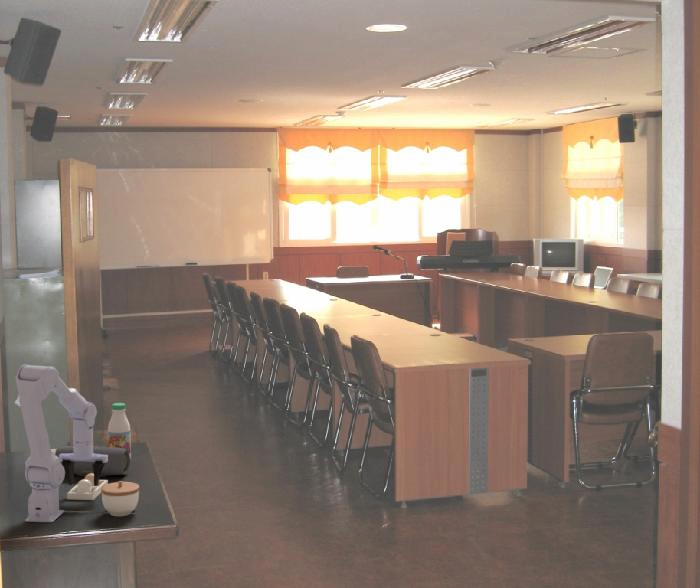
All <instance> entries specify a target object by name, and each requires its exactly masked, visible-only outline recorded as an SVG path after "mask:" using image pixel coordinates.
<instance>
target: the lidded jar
mask: <svg viewBox="0 0 700 588" xmlns="http://www.w3.org/2000/svg"><path fill="white" fill-rule="evenodd" d="M139 496H140V485H139V484H138V483H135V482H130V481H122V480H119V481H115V482H110V483H109V482H108V484H106V485H104V486H103V487H102V488H101V500H102V504H103V505H102V506H103V507H104V509H105V510H106V511H107V512H108V513H109V515H110V516H112V517H113V516H114V517H126V516H129V515H132V512H133V511H134V510H135V509H136V507H137V505H138V503H139Z"/></svg>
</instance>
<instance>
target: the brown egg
mask: <svg viewBox="0 0 700 588" xmlns="http://www.w3.org/2000/svg"><path fill="white" fill-rule="evenodd" d="M84 479H87V480H89V481H90V482H91V485H92V486H94V474H93V473H90V474H88V475H86V476H84ZM97 486H98V485H97Z"/></svg>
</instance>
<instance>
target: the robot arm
mask: <svg viewBox="0 0 700 588" xmlns="http://www.w3.org/2000/svg"><path fill="white" fill-rule="evenodd" d="M59 372H60V371H58V369H56V367H54V366H44V365H32V364H31V365H30V364H28V363H27V364H25V363H24V364H22V365H21V366H20V367H19V368H18V370H17V374H16V375H15V377H14V380H15V383H16V388H17V393H18V396H19V397H18V398H19V401H18V402H19V406H20V410H21V414H22V415H21V416H22V419H23V424H24V429H25V433H26V438H27V440H28V441H27V442H28V446H29V451H30V456H28V458H27V459H26V460H25V462H24V465H25V471H24V472H25V473H24V476H25V479H26V481H27V483H29V487H31V494H30V495H29V496H28V499H27V511H28V512H27V515H28V516H27V518H26V519H24V520H25V521H24V522H31V523H32V522H34V523H53V522H55V520H56V519H58V518H59V517H60V516H62V514H64V513H65V510H64V509H60V497H59V496H60V492H59V486H61V485H62V483H63V482H64V479H65V476H66V478H67V482H68V485H69V486H72V485H74V483H75V474H74V463H75V461H86V462H95V463H94V464H93V465H92V466H93V472H94V486H97V485H98V484H99V480H100V477H101V476H100V474H101V472H102V469H103V467H104V465H105V463H106V462H107V461H108V455H102V454H95V453H93V446H94V426H95V423H96V422H95V421H96V420H95V419H96V417H97V413H98V410H97V408H96V405H95V404H94V403H93V402H91V401H90V402H89V401H87V400H86V399H85V397H84V396H82V395H81V394H80V393H79V392H78V390H79V389H77V388H74V387H68V386H67V384H65V381H63V380H62V379H61V377H60V373H59ZM51 392H52V393H54V394H55V395H57V397H58V401H59V404H61V405H62V406H63V407H64V408H65V410H67V412H68V413H67V414H68V418H69V419H71V420H72V424H73V425H72V431H73V434H72V436H73V437H72V438H73V439H72V441H73V442H72V443H73V445H72V446H74V453H67V454H60V455H59V458H58V457H57V456H56V455H55V453H53V452H52V448H51V444H50V439H49V434H48V430H47V425H46V420H45V415H44V412H43V408H42V407H43V406H42V401H44V400H46V399H47V398H48V396H49V395H50V394H51ZM60 461H63V462H62V464H61V462H60Z"/></svg>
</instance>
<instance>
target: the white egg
mask: <svg viewBox="0 0 700 588" xmlns="http://www.w3.org/2000/svg"><path fill="white" fill-rule="evenodd" d="M77 484H78V485H77ZM77 484H76V485H77V492H79V493H92V485H91V482H90V481H89V480H87V479H85V478H84V479H81V480H79V481H78V482H77Z"/></svg>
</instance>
